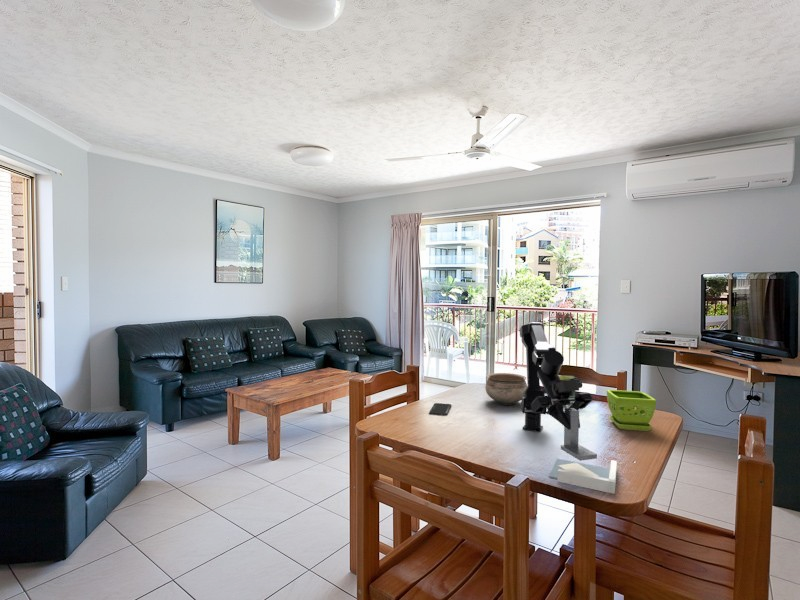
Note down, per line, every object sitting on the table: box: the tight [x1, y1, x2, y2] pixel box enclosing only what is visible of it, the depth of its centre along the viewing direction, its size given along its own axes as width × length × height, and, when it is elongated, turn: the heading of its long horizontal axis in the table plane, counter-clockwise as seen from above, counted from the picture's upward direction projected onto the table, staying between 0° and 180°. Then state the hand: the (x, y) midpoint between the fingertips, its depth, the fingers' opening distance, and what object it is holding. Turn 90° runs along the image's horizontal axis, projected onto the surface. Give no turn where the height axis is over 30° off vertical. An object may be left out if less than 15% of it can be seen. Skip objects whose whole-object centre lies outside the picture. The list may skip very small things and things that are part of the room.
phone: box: [428, 402, 452, 417], centre depth 183 cm, size 8×1×15 cm
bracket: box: [560, 407, 598, 461], centre depth 121 cm, size 9×6×12 cm, turn 16°
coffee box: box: [558, 374, 576, 398], centre depth 193 cm, size 8×3×13 cm, turn 70°
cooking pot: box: [485, 372, 528, 406], centre depth 194 cm, size 25×19×12 cm
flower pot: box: [606, 389, 657, 432], centre depth 162 cm, size 14×14×13 cm
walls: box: [557, 459, 618, 495], centre depth 119 cm, size 16×14×3 cm
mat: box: [548, 458, 610, 480], centre depth 120 cm, size 14×15×1 cm
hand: (574, 428), depth 123 cm, fingers closed on bracket, 3 cm apart
